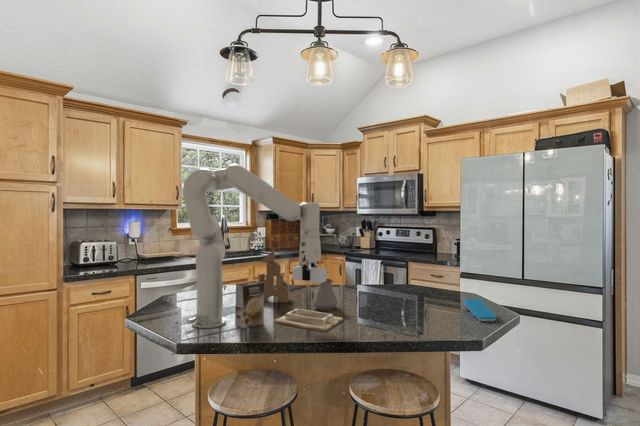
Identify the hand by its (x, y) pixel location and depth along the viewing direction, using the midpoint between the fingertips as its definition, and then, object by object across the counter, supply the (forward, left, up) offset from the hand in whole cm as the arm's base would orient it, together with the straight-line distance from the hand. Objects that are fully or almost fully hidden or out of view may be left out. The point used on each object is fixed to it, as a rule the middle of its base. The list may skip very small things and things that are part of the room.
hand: (309, 278), depth 150 cm
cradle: (0, 0, -17) cm, 17 cm away
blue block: (+43, -58, -18) cm, 74 cm away
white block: (0, 0, -1) cm, 1 cm away
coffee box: (-15, +18, -17) cm, 29 cm away
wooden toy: (+20, +32, -17) cm, 42 cm away
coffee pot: (+25, +6, -17) cm, 31 cm away
